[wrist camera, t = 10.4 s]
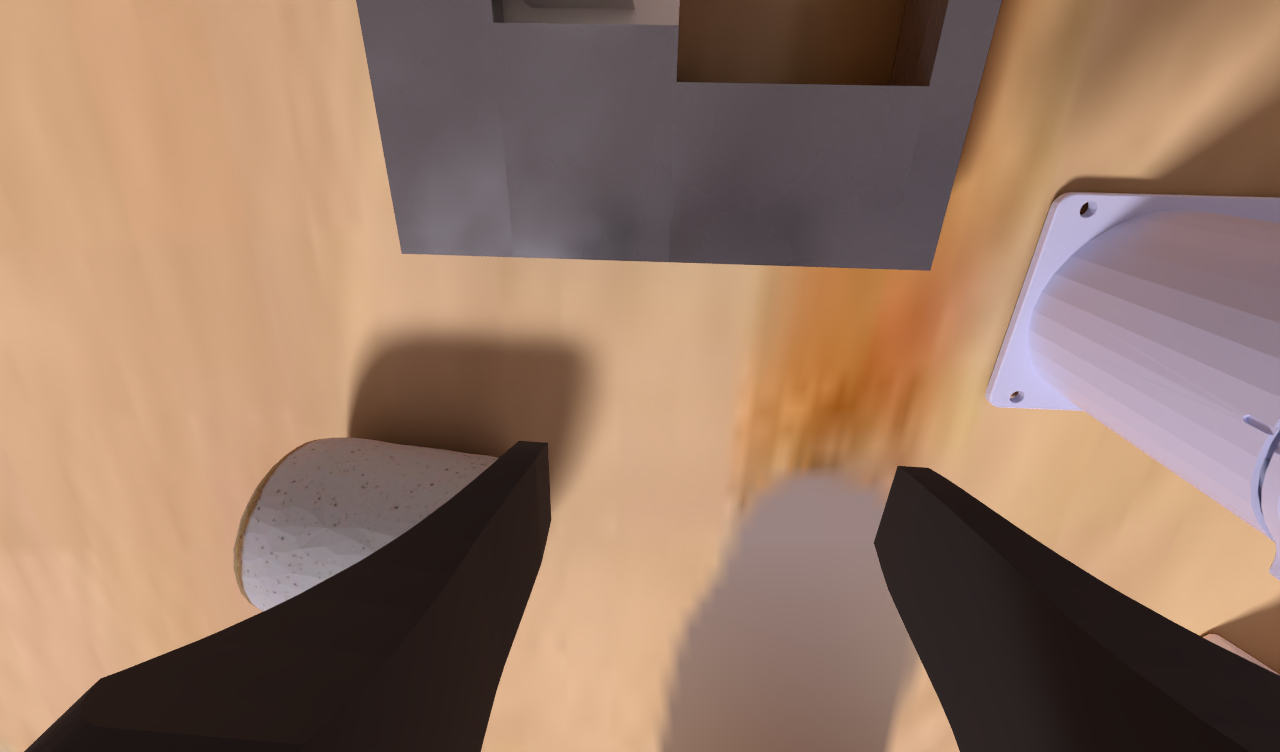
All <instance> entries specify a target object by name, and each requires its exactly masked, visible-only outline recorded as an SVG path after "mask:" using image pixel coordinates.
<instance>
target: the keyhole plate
mask: <svg viewBox="0 0 1280 752" xmlns="http://www.w3.org/2000/svg"><path fill="white" fill-rule="evenodd" d="M356 2H357V7H358V13H359V18H360V24H361V29H362V35H363V41H364V46H365V52H366V57H367V63H368V68H369V74H370V79H371V85H372V90H373V96H374V102H375V107H376V113H377V118H378V124H379V129H380V135H381V140H382V146H383V151H384V157H385V163H386V168H387V174H388V179H389V185H390V190H391V196H392V201H393V207H394V213H395V218H396V224H397V229H398V235H399V240H400V246H401V251H402V254H433V255H464V256H495V257H526V258H558V259H589V260H620V261H651V262H682V263H713V264H744V265H775V266H806V267H837V268H868V269H899V270H930V269H931V266H932V262H933V258H934V254H935V251H936V247H937V243H938V239H939V236H940V232H941V228H942V224H943V220H944V217H945V213H946V209H947V205H948V202H949V198H950V194H951V190H952V187H953V183H954V179H955V175H956V172H957V168H958V164H959V160H960V157H961V153H962V149H963V145H964V142H965V138H966V134H967V130H968V126H969V123H970V119H971V115H972V111H973V108H974V104H975V100H976V96H977V93H978V89H979V85H980V81H981V78H982V74H983V70H984V66H985V63H986V59H987V55H988V51H989V47H990V44H991V40H992V36H993V32H994V29H995V25H996V21H997V17H998V14H999V10H1000V6H1001V2H1002V0H907V1H906V6H905V11H904V16H903V21H902V26H901V31H900V36H899V41H898V46H897V51H896V56H895V61H894V66H893V71H892V76H891V81H890V86H877V85H820V84H763V83H706V82H676V81H677V58H678V35H679V25H632V24H554V23H504V15H503V2H502V0H356Z"/></svg>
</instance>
